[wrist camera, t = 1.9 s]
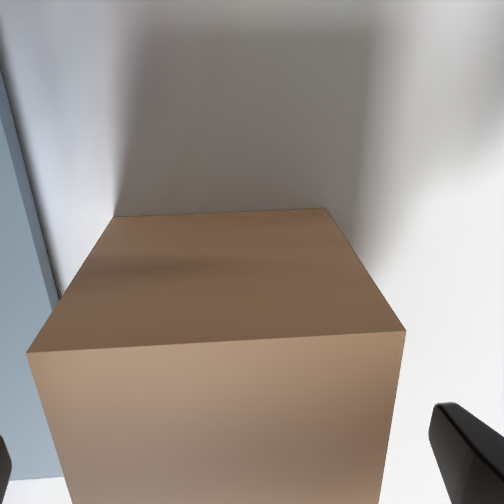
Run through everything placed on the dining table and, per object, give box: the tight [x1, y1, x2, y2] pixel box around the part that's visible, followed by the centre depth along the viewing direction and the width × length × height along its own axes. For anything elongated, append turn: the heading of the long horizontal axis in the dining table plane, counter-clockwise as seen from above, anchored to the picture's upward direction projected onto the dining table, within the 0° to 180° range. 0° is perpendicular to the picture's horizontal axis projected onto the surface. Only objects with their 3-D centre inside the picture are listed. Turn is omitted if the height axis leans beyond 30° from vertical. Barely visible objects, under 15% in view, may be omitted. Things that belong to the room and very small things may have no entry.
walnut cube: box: [26, 208, 406, 504], centre depth 11 cm, size 6×6×6 cm
